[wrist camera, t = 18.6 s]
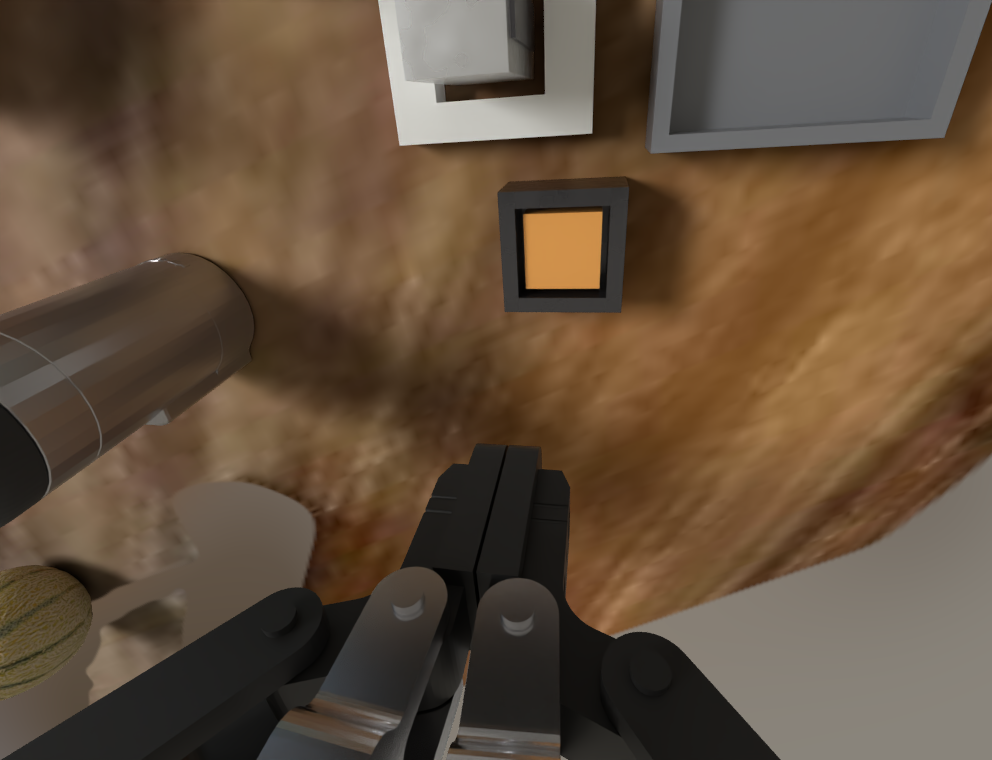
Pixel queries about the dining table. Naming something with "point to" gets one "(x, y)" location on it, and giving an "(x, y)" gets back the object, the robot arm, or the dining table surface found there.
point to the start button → (563, 247)
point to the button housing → (554, 195)
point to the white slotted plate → (509, 117)
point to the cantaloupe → (39, 625)
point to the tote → (806, 71)
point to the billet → (466, 40)
